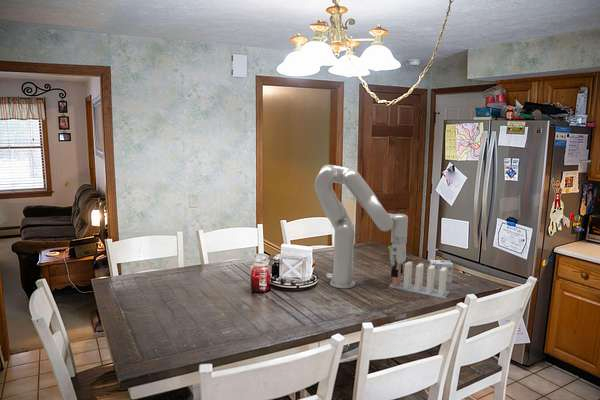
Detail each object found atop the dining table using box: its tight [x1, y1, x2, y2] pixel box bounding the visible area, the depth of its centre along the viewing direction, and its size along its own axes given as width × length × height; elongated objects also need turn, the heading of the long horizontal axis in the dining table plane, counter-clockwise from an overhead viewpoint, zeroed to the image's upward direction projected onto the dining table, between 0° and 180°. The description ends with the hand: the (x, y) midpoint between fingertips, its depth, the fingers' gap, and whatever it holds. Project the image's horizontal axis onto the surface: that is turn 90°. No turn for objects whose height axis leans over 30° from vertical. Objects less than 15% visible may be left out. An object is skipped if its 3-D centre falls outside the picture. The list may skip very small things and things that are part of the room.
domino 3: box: [414, 262, 425, 291], centre depth 215 cm, size 2×6×12 cm, turn 149°
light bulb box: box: [429, 259, 454, 283], centre depth 230 cm, size 11×7×11 cm, turn 84°
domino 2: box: [403, 261, 413, 289], centre depth 218 cm, size 2×6×12 cm, turn 149°
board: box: [388, 281, 450, 299], centre depth 216 cm, size 27×10×1 cm, turn 59°
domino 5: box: [438, 267, 447, 296], centre depth 210 cm, size 2×6×12 cm, turn 149°
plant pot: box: [388, 244, 392, 262], centre depth 264 cm, size 9×9×9 cm
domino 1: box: [391, 262, 402, 287], centre depth 220 cm, size 2×6×12 cm, turn 150°
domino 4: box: [425, 265, 435, 294], centre depth 212 cm, size 2×6×12 cm, turn 149°
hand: (396, 274), depth 221 cm, fingers open, 6 cm apart
